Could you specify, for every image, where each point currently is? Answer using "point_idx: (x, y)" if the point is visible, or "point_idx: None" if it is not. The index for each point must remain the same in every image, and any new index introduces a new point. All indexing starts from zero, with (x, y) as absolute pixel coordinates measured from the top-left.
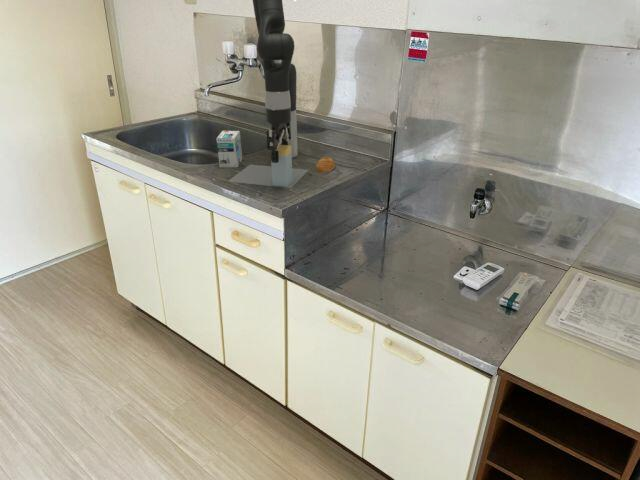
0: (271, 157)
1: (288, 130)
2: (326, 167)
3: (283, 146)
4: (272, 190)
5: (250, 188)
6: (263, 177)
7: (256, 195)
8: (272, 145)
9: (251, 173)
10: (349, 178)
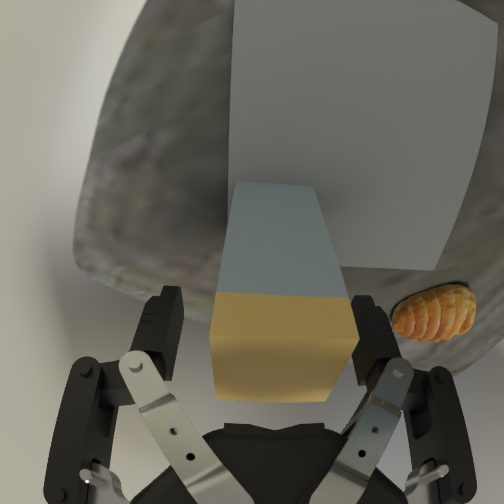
0: (141, 316)
1: (415, 456)
2: (404, 334)
3: (298, 382)
4: (194, 190)
5: (188, 82)
6: (342, 104)
7: (119, 148)
8: (155, 391)
9: (391, 31)
10: (353, 364)
